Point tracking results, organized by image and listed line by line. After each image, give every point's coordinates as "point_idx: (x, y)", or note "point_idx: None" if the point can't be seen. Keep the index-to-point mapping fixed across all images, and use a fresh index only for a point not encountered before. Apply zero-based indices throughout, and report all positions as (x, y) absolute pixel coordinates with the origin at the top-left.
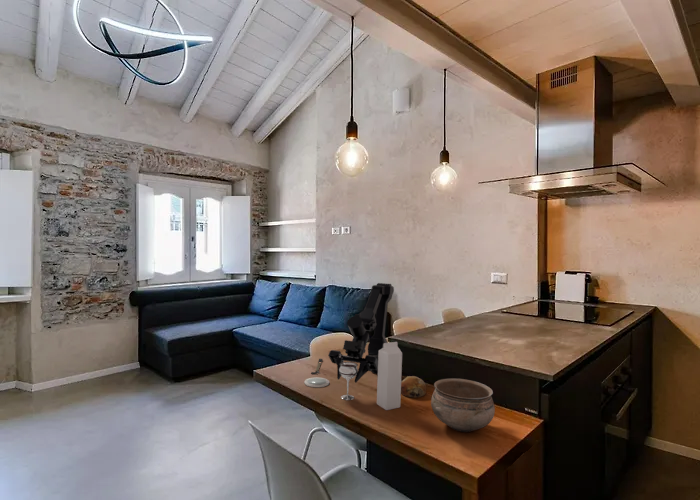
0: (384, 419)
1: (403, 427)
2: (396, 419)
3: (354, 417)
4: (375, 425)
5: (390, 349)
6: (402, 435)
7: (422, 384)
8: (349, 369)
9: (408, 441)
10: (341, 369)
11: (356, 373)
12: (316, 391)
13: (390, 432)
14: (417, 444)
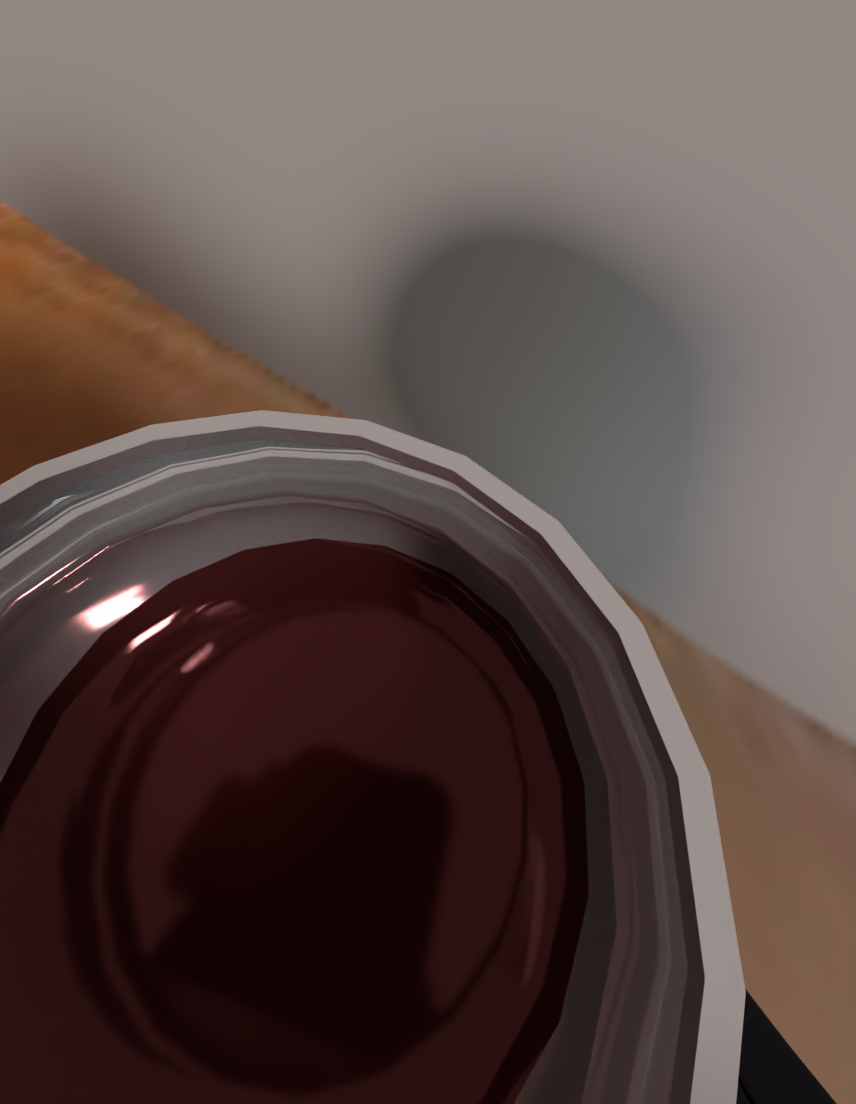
0: (93, 411)
1: (8, 347)
2: (4, 423)
3: (299, 404)
4: (176, 343)
5: None
6: (56, 286)
7: None
8: (226, 505)
9: (50, 254)
10: (491, 572)
11: (64, 695)
12: (825, 936)
13: (110, 299)
14: (18, 243)
